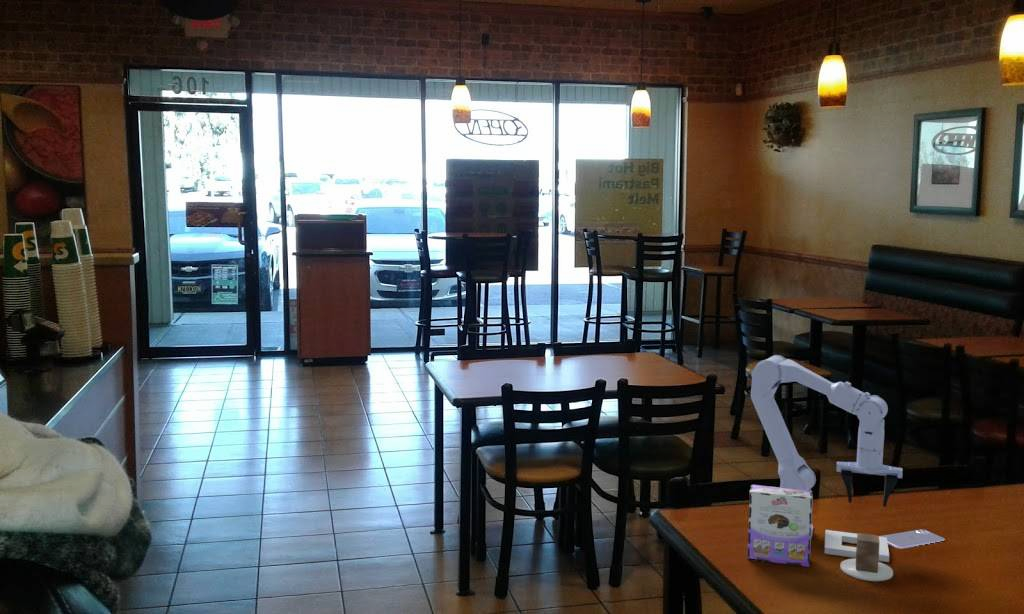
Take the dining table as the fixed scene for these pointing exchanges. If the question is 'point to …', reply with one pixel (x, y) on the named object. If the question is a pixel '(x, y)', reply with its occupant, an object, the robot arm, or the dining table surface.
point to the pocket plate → (835, 546)
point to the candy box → (780, 525)
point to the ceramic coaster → (850, 569)
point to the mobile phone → (912, 539)
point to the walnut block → (867, 552)
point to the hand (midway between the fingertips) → (867, 503)
